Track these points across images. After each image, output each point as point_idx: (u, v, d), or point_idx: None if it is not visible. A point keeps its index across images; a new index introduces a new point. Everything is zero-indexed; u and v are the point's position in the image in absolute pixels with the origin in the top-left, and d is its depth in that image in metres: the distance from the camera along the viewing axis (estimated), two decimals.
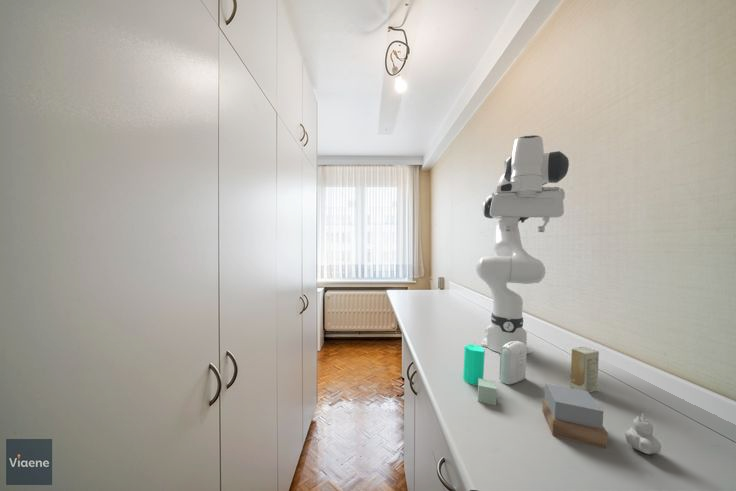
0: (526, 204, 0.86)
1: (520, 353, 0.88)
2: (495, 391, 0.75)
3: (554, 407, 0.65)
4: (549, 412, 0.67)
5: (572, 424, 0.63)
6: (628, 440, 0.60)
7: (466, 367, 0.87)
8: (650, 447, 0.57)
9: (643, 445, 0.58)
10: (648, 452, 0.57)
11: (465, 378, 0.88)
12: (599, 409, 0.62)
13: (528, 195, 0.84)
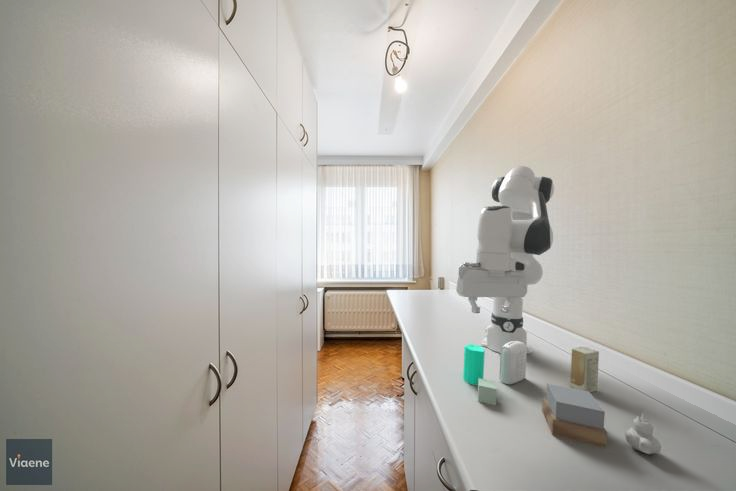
0: None
1: (520, 353, 0.88)
2: (495, 391, 0.75)
3: (555, 407, 0.65)
4: (549, 412, 0.67)
5: (572, 424, 0.63)
6: (628, 440, 0.60)
7: (466, 367, 0.87)
8: (650, 447, 0.57)
9: (643, 445, 0.58)
10: (648, 452, 0.57)
11: (465, 378, 0.88)
12: (600, 409, 0.62)
13: None
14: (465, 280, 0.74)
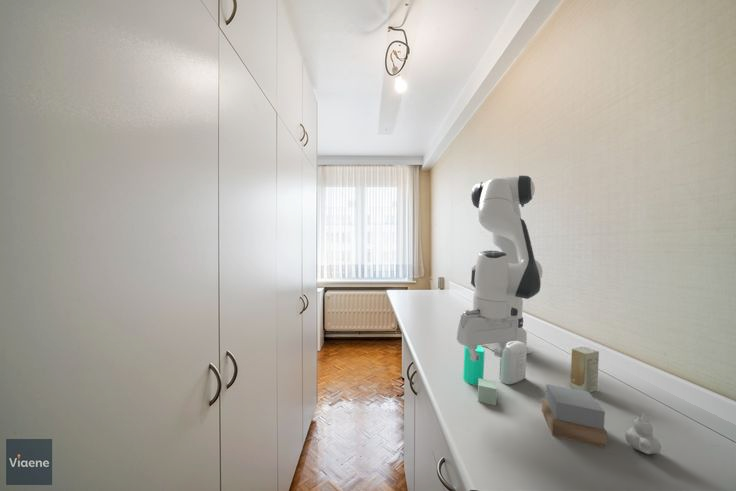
0: None
1: (520, 353, 0.88)
2: (495, 391, 0.75)
3: (555, 407, 0.65)
4: (549, 412, 0.67)
5: (572, 424, 0.63)
6: (628, 440, 0.60)
7: (466, 367, 0.87)
8: (650, 447, 0.57)
9: (643, 445, 0.58)
10: (648, 452, 0.57)
11: (465, 378, 0.88)
12: (600, 409, 0.62)
13: None
14: (468, 330, 0.72)
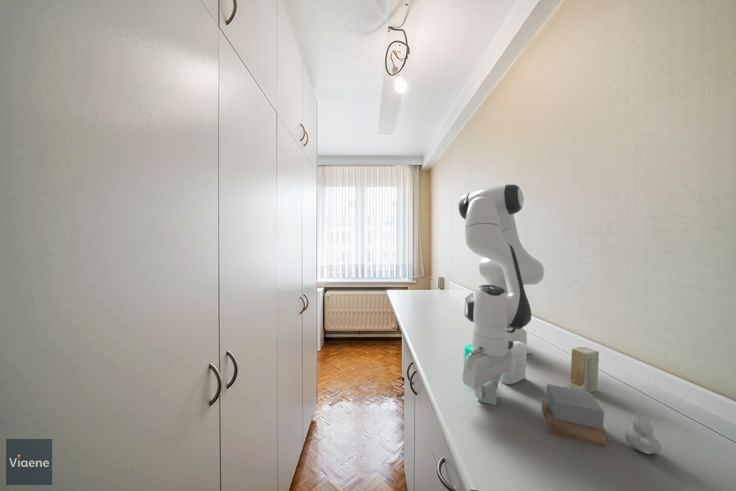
0: None
1: (520, 353, 0.88)
2: (495, 391, 0.75)
3: (554, 407, 0.65)
4: (548, 412, 0.67)
5: (571, 423, 0.63)
6: (628, 440, 0.60)
7: None
8: (650, 447, 0.57)
9: (643, 445, 0.58)
10: (648, 452, 0.57)
11: None
12: (599, 409, 0.62)
13: None
14: (475, 372, 0.70)
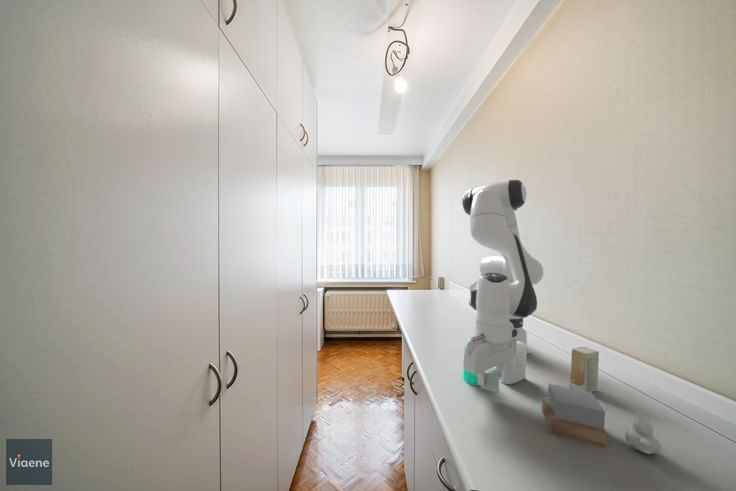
0: None
1: (520, 353, 0.88)
2: (498, 378, 0.75)
3: (555, 406, 0.65)
4: (548, 411, 0.67)
5: (571, 423, 0.63)
6: (628, 440, 0.60)
7: None
8: (650, 447, 0.57)
9: (643, 445, 0.58)
10: (648, 452, 0.57)
11: (465, 378, 0.88)
12: (601, 409, 0.61)
13: None
14: (475, 358, 0.71)
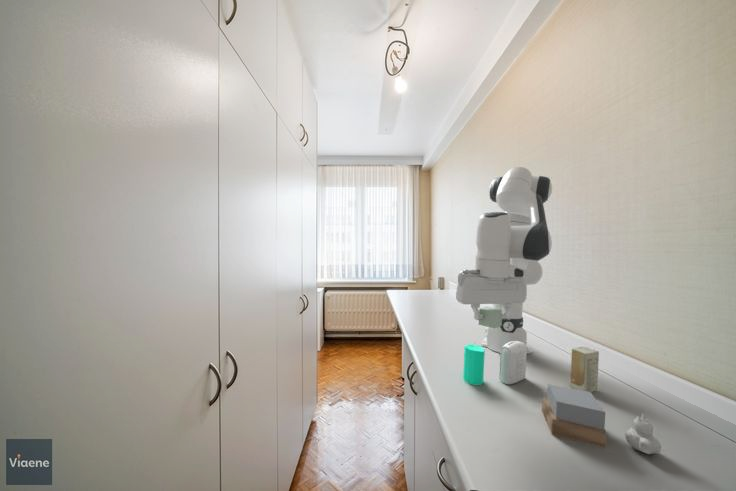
0: None
1: (520, 353, 0.88)
2: (494, 314, 0.75)
3: (555, 407, 0.65)
4: (548, 411, 0.67)
5: (571, 423, 0.63)
6: (628, 440, 0.60)
7: (466, 367, 0.87)
8: (650, 447, 0.57)
9: (643, 445, 0.58)
10: (648, 452, 0.57)
11: (465, 378, 0.88)
12: (601, 410, 0.61)
13: None
14: (464, 288, 0.74)
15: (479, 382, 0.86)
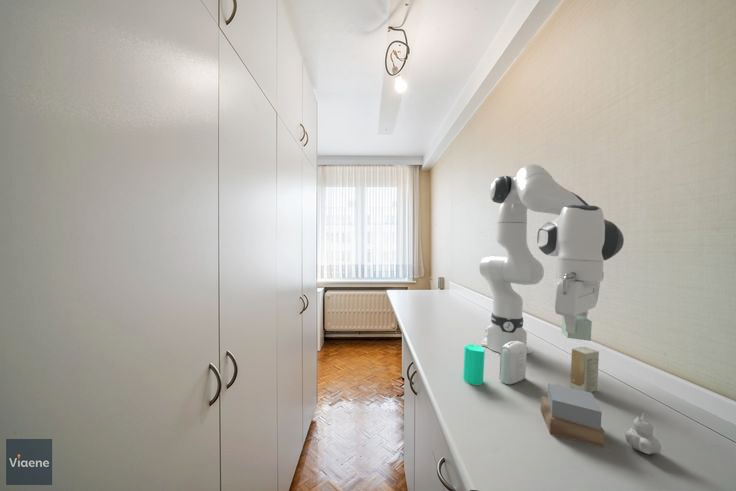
0: None
1: (520, 353, 0.88)
2: (590, 324, 0.64)
3: (551, 405, 0.65)
4: (547, 411, 0.67)
5: (569, 423, 0.63)
6: (628, 440, 0.60)
7: (466, 367, 0.87)
8: (650, 447, 0.57)
9: (643, 445, 0.58)
10: (648, 452, 0.57)
11: (465, 378, 0.88)
12: (597, 410, 0.61)
13: None
14: (574, 297, 0.59)
15: (479, 382, 0.86)
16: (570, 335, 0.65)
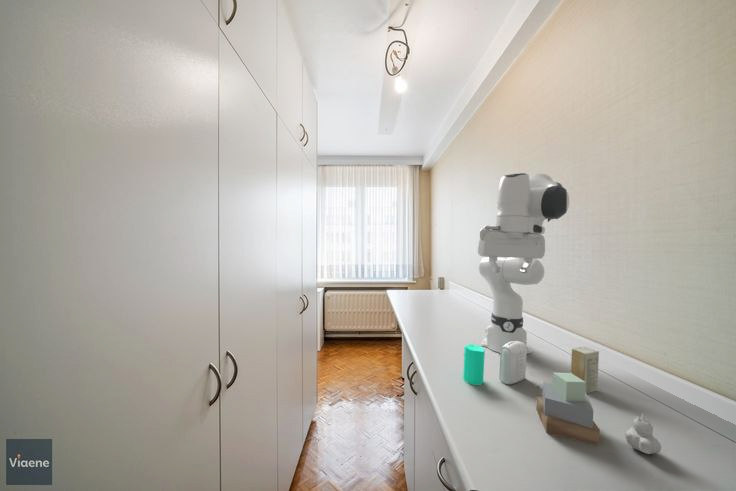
0: None
1: (520, 353, 0.88)
2: (584, 385, 0.65)
3: (544, 403, 0.66)
4: (543, 410, 0.68)
5: (565, 422, 0.63)
6: (628, 440, 0.60)
7: (466, 367, 0.87)
8: (650, 447, 0.57)
9: (643, 445, 0.58)
10: (648, 452, 0.57)
11: (465, 378, 0.88)
12: (589, 408, 0.62)
13: None
14: (485, 241, 0.81)
15: (479, 382, 0.86)
16: (568, 398, 0.65)
